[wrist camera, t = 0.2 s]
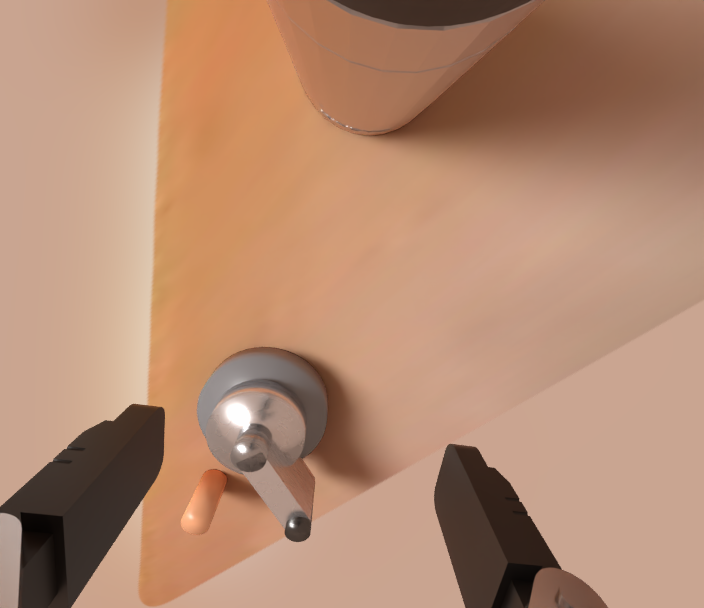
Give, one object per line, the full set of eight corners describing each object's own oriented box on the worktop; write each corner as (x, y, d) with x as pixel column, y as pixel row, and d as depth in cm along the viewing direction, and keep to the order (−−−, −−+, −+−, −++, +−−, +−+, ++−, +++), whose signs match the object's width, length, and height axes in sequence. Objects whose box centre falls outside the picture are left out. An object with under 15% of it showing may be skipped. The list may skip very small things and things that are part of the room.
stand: (214, 335, 28) (191, 362, 24) (340, 361, 29) (339, 392, 25) (193, 485, 32) (171, 531, 28) (303, 503, 33) (297, 550, 29)
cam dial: (196, 402, 27) (169, 444, 23) (278, 365, 26) (265, 400, 22) (272, 504, 30) (261, 557, 26) (347, 474, 29) (347, 523, 25)
